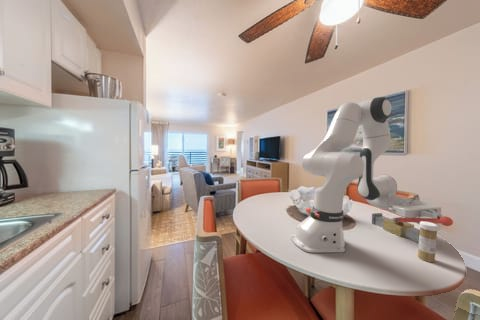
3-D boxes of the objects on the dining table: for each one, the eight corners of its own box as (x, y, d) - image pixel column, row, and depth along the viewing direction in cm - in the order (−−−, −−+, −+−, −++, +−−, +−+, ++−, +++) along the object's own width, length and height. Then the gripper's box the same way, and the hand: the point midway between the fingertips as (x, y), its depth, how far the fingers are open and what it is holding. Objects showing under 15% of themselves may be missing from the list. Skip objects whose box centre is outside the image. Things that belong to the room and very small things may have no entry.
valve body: (418, 244, 75) (419, 232, 74) (369, 223, 96) (370, 213, 96) (432, 243, 76) (433, 230, 76) (381, 222, 98) (382, 212, 98)
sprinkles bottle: (428, 256, 67) (431, 221, 66) (439, 263, 62) (442, 226, 62) (414, 254, 68) (416, 220, 67) (423, 261, 63) (426, 225, 63)
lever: (393, 223, 86) (449, 226, 67) (391, 216, 87) (445, 216, 68) (400, 223, 87) (457, 225, 68) (398, 215, 88) (454, 215, 69)
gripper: (384, 200, 82) (420, 210, 69) (418, 198, 87) (458, 207, 73) (383, 213, 83) (419, 226, 69) (417, 211, 87) (456, 222, 74)
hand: (439, 216), depth 71 cm, fingers closed, pressing on lever
